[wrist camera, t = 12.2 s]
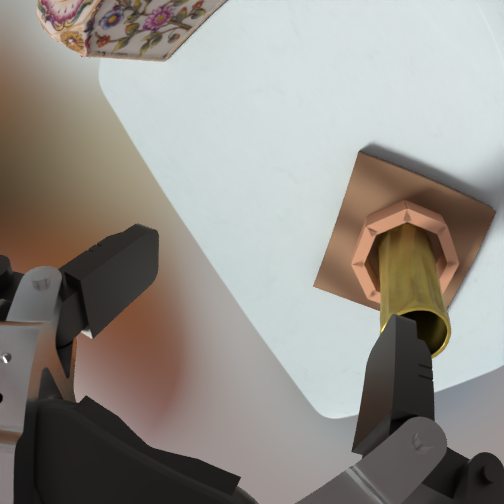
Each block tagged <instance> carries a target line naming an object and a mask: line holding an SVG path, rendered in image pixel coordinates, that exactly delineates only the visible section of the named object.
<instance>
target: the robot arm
mask: <svg viewBox="0 0 504 504" xmlns="http://www.w3.org/2000/svg"><path fill="white" fill-rule="evenodd" d="M158 250H159V234H158V232H157V231H156V230H155V229H152V228H149V227H146V226H143V225H141V224H135V225H133V226H131V227H130V228H128V229H127V230H125V231H124V232H121V233H117V234H115V235H111V236H108V237H106V238H105V239H103V240H102V241H100V242H99V243H97V245H94V246H92V247H91V248H89V250H88V251H87V250H86V251H85V252H83V253H82V254H80V255H79V256H77V257H76V258H74V259H73V260H71V261H70V262H68V263H67V264H65V265H64V266H62V267H61V268H60V269H56V268H54V267H49V266H42V267H37V268H34V269H32V270H30V271H28V272H27V273H26V274H22V273H18V272H13V271H12V267H11V264H10V260H9V259H8V257H6V256H3V255H0V504H258V503H257V501H256V500H255V499H254V498H253V497H251V496H250V495H249V494H248V493H246V491H244V490H242V489H241V488H240V487H238V486H237V485H238V483H239V480H240V478H241V477H239V476H237V475H234V474H232V473H229V472H227V471H224V470H222V469H219V468H217V467H215V466H213V465H210V464H208V463H206V462H204V461H201V460H199V459H196V458H191V457H187V456H183V455H178V454H174V453H170V452H166V451H163V450H159V449H155V448H152V447H150V446H149V445H147V444H146V443H145V442H144V441H143V440H142V439H141V438H140V437H138V436H137V435H136V434H135V433H134V432H133V431H132V430H131V429H130V428H129V427H128V426H127V425H126V424H125V423H124V422H123V421H122V420H121V419H120V418H119V417H118V416H117V415H115V414H114V413H112V412H111V411H109V410H107V409H106V408H104V407H103V406H101V405H100V404H98V403H96V402H95V401H94V400H92V399H91V398H89V397H88V396H85V397H84V398H83V399H82V400H81V401H80V402H79V403H77V402H76V399H75V394H74V373H75V361H76V351H77V337H76V336H77V335H78V334H79V333H80V332H82V333H84V334H85V335H87V336H88V337H90V338H92V339H93V338H94V337H95V336H96V335H97V334H98V333H100V332H101V331H102V330H103V329H104V328H105V327H106V326H107V325H108V324H109V323H110V322H111V321H112V320H113V319H114V318H115V317H116V316H118V315H119V314H120V313H121V312H122V311H123V310H124V309H125V308H126V307H127V306H128V305H129V304H130V303H132V302H133V301H134V300H135V299H136V298H137V297H138V296H139V295H140V294H141V293H142V292H143V291H145V289H147V288H148V287H149V286H150V285H151V284H152V283H153V282H154V280H155V278H156V276H157V273H158ZM432 380H433V370H432V357H431V353H430V351H429V349H428V347H427V345H426V343H425V341H423V340H420V339H417V329H416V322H415V320H412V319H409V318H406V317H403V316H400V315H397V314H392V315H391V317H390V318H389V320H388V322H387V324H386V325H385V327H384V329H383V331H382V333H381V334H380V336H379V338H378V340H377V341H376V343H375V345H374V347H373V349H372V351H371V353H370V355H369V358H368V361H367V365H366V372H365V379H364V386H363V393H362V399H361V405H360V411H359V416H358V422H357V427H356V433H355V437H354V442H353V447H352V452H353V453H357V454H361V455H363V456H362V459H361V460H360V461H359V462H358V463H356V464H355V465H354V466H352V467H349V468H348V469H346V470H345V471H344V472H342V473H341V474H339V475H338V476H336V477H335V478H334V479H332V480H331V481H329V482H328V483H326V484H325V485H323V486H322V487H320V488H319V489H318V490H316V491H314V492H313V493H311V494H310V495H308V496H306V497H305V498H303V499H302V500H300V501H298V502H297V503H295V504H504V467H503V465H502V463H501V461H500V460H499V459H498V458H497V457H496V456H494V455H493V454H491V453H487V452H484V453H479V454H477V455H476V456H474V457H473V458H472V459H468V458H466V457H464V456H462V455H460V454H459V453H457V452H454V451H453V450H451V449H450V448H448V447H447V439H446V436H445V433H444V432H443V430H442V428H441V427H440V426H439V425H438V424H437V423H436V422H435V421H434V420H435V419H434V387H433V381H432Z"/></svg>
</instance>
